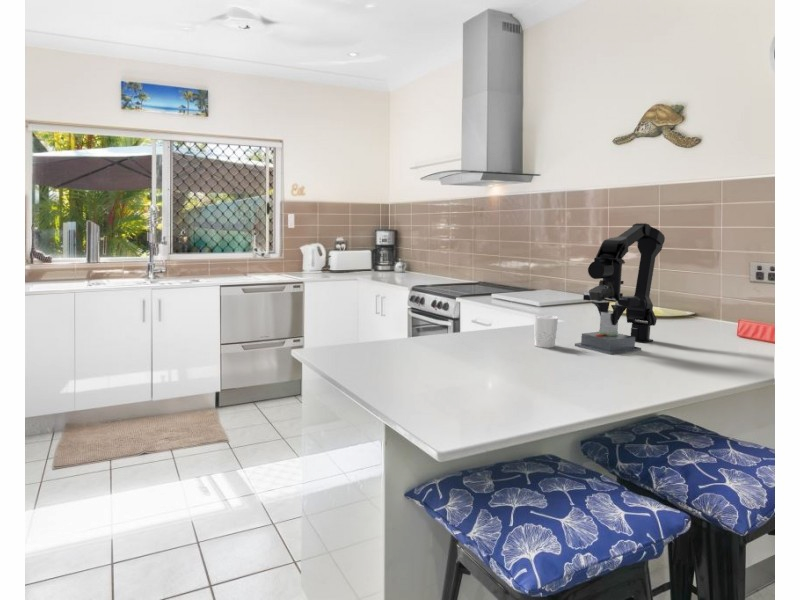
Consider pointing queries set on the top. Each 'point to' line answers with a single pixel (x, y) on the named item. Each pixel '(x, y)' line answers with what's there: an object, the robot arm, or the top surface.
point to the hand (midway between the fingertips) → (608, 324)
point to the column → (608, 325)
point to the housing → (608, 343)
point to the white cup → (545, 330)
